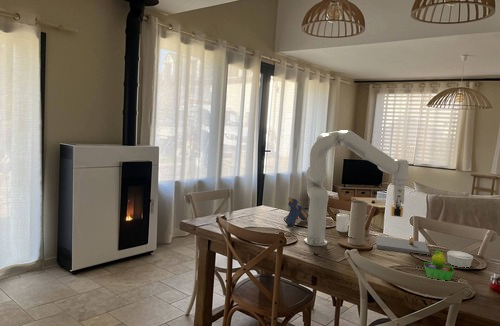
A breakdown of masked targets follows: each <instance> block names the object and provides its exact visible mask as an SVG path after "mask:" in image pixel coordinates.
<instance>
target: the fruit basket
mask: <svg viewBox="0 0 500 326" xmlns="http://www.w3.org/2000/svg"><path fill="white" fill-rule="evenodd" d="M445 262H446V258H445V255H444V253H443V252H442V251H441V250H435V251H434V253H433V255H432V256H431V262H428V261H427V262H426V261H424V262H423V265H424V269H425V270H424V271H425V275H427V276H426V278H427V277H435V278H437V279H438V278H439V279H441V280H440V281H442V280H450V281H451V280H452V277H453V275H454V273H455V270H454V268H453V267H454V266H452V265H450V264H449V265H448V264H444V263H445ZM437 279H436V280H437Z"/></svg>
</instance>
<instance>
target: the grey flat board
mask: <svg viewBox="0 0 500 326" xmlns="http://www.w3.org/2000/svg"><path fill="white" fill-rule="evenodd" d="M375 246H376V249H379V250H386V251H394V252H400V253H407V254H411V253H410V252H416V253H421V254H427V255H426V256H428V255H429V256H430V254H431V253H430V250H429V248H428V245H427V244H426V241H420V240H414V244H413V245H409V239H406V238H405V239H404V238H396V237H388V236H380V235H376V236H375ZM421 254H420V255H421Z"/></svg>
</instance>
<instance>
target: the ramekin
mask: <svg viewBox="0 0 500 326" xmlns="http://www.w3.org/2000/svg"><path fill="white" fill-rule="evenodd" d="M446 255H447V263H448V264H449V263H450V264H451V265H450V264H449V265H450V266H452V265H454V266H453V267H455V266H458V267H457V268H459V267H465V268H464V269H467V268H466V267H469V268H470V267H471V266H472V264H473V263H472V262H473V260H474V256H473V255H472V254H469V253H467V252H464V251H459V250H449V251H446Z"/></svg>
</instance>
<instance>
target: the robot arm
mask: <svg viewBox="0 0 500 326" xmlns="http://www.w3.org/2000/svg"><path fill="white" fill-rule="evenodd" d="M342 146H344V147H345V148H347V149H348V150H350V151H352V152H353V153H354V154H356V155H357V156H358V157H360V158H362V159H364V160H366V161H368V162H370V163H372V164H374V165H376V166H377V169H378V170H380V171H381V172H384V173H387V174H389V175H391V174H392V178H391V185H393V192H392V196H393V198H392V200H393V205H395V208H394V216H393V217H398V216H400V214H401V206H402V204H405V188H406V186H407V184H408V173H409V161H408V160H407V159H403V158H396V159H394V158H392V157H391V156H389V155H388V154H387V153H385V152H384V151H383V150H380V149H379V148H377V147H376V146H374V145H373V144H372V143H370V142H368V141H367V140H365V139H364V138H362V137H361V136H360V135H358V134H356V133H355V132H354V131H352V130H348V129H346V130H339V131H332V132H325V133H321V134H319V135H318V136H317V138H316V141H315V142H314V143H313V145H312V147H311V149H310V152H309V153H310V154H309V166H308V167H307V169H306V175H305V177H306V178H305V179H306V192H307V196H308V197H309V205H308V214H309V216H308V218H307V236H306V237H305V238H304V239H303V242H304V243H305V244H307V245H309V246H313V247H314V246H315V247H322V246H323V247H324V246H326V245H328V241H327V239H325V237H326V223H327V209H328V202H329V193H328V190H327V189H326V187H324V182H325V180H326V179H327V155H328V153H329V151H330V150H331V149H333V148H336V147H342Z"/></svg>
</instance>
